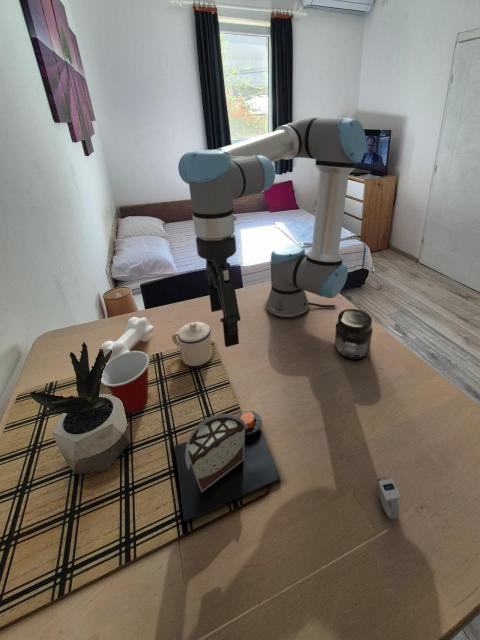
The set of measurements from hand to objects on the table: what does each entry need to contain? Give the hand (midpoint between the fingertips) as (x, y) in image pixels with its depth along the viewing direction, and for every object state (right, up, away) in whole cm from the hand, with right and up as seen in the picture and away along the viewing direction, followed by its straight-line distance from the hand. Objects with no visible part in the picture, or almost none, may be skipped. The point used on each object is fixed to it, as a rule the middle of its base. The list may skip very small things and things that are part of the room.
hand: (224, 326), depth 71 cm
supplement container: (+33, -13, +26) cm, 45 cm away
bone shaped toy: (-33, -14, +26) cm, 44 cm away
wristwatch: (+32, -30, -12) cm, 46 cm away
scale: (+1, -27, -5) cm, 28 cm away
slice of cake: (0, -26, -6) cm, 27 cm away
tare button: (+5, -22, +1) cm, 22 cm away
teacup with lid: (-14, -14, +25) cm, 32 cm away
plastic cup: (-24, -21, +9) cm, 33 cm away
